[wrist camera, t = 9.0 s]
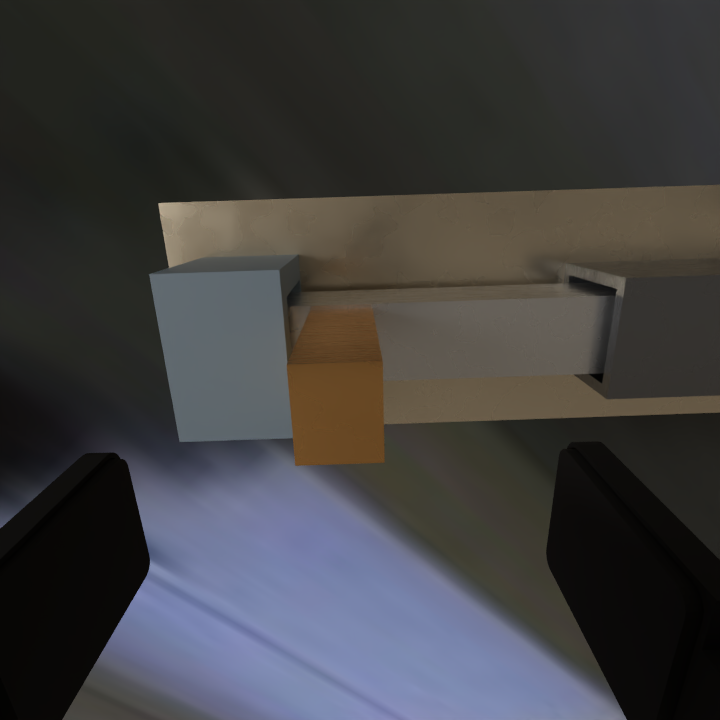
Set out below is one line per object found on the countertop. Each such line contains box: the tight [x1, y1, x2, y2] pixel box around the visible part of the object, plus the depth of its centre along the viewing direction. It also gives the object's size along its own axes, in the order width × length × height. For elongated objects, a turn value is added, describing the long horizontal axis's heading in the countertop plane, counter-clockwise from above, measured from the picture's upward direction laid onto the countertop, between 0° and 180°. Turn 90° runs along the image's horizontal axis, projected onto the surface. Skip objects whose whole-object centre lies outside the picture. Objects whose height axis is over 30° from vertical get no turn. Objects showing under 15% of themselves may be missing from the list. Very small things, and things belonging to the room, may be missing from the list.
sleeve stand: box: [158, 185, 720, 424], centre depth 24 cm, size 41×14×7 cm, turn 92°
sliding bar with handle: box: [287, 282, 617, 466], centre depth 20 cm, size 23×4×12 cm, turn 92°
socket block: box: [149, 254, 301, 442], centre depth 23 cm, size 6×8×7 cm
